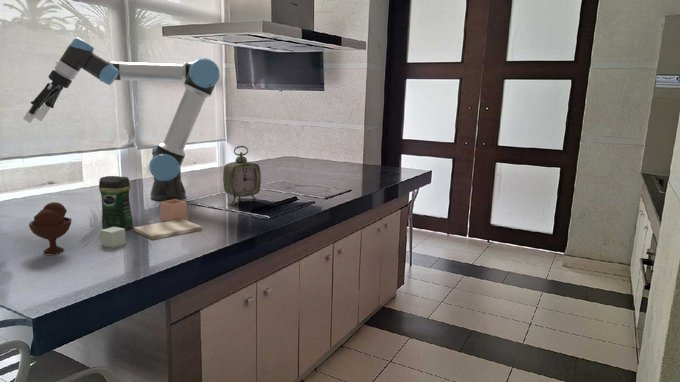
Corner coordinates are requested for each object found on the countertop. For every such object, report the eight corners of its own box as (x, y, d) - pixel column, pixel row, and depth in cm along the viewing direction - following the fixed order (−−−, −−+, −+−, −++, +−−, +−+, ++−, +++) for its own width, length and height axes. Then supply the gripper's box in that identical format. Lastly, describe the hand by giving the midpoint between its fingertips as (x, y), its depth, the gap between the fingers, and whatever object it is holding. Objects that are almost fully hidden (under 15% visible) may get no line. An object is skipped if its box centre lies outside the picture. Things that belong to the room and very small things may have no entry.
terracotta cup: (176, 216, 190) (175, 199, 189) (187, 219, 186) (186, 201, 185) (160, 220, 185) (159, 202, 183) (171, 223, 181) (171, 204, 179)
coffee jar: (136, 226, 176) (133, 175, 172) (123, 232, 168) (119, 178, 165) (112, 224, 178) (108, 173, 174) (98, 230, 170) (94, 177, 166)
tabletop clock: (232, 206, 208) (230, 147, 203) (221, 202, 215) (220, 145, 210) (261, 201, 218) (260, 145, 213) (250, 198, 225) (249, 143, 219)
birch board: (182, 221, 183) (182, 218, 182) (201, 229, 173) (201, 226, 173) (134, 230, 170) (134, 227, 170) (151, 239, 160) (151, 236, 160)
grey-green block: (114, 241, 158) (113, 226, 157) (126, 243, 156) (125, 228, 155) (101, 245, 154) (100, 230, 153) (112, 248, 152) (111, 232, 151)
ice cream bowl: (43, 246, 151) (38, 199, 148) (80, 246, 152) (76, 199, 149) (24, 258, 141) (18, 207, 138) (64, 257, 142) (60, 207, 139)
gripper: (62, 70, 200) (33, 113, 200) (44, 66, 177) (11, 115, 177) (79, 81, 203) (51, 123, 203) (64, 79, 179) (31, 127, 179)
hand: (32, 120), depth 190 cm, fingers open, 13 cm apart
